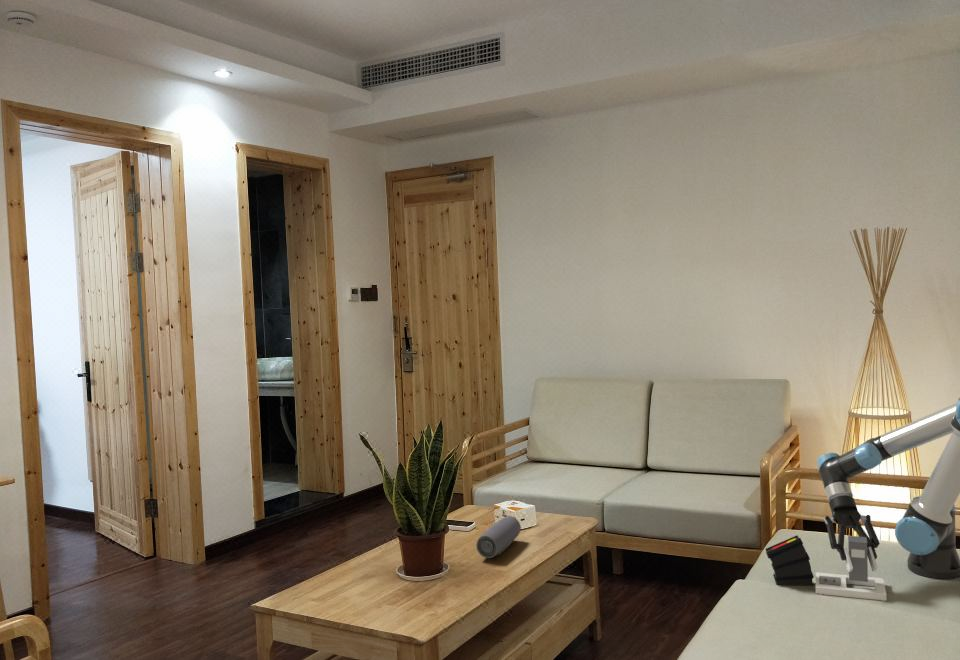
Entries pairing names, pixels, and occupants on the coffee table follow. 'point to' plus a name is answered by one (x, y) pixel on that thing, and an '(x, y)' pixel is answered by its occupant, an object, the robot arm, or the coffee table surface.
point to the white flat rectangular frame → (837, 587)
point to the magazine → (790, 562)
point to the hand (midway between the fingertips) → (862, 569)
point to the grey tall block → (858, 558)
